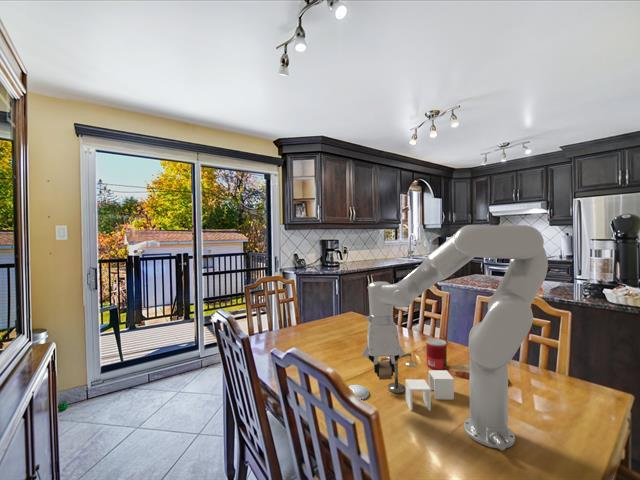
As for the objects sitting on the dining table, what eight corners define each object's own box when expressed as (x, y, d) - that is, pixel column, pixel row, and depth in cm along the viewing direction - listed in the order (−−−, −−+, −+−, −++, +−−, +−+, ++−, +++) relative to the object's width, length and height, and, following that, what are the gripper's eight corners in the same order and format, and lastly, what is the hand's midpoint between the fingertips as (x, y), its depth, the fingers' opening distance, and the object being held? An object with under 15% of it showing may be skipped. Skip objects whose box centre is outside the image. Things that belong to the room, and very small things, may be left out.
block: (391, 379, 97) (391, 368, 96) (379, 379, 97) (379, 368, 97) (389, 371, 101) (389, 360, 100) (377, 372, 101) (377, 361, 100)
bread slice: (443, 371, 124) (442, 362, 124) (476, 364, 130) (476, 356, 130) (478, 393, 107) (478, 382, 107) (515, 384, 113) (515, 374, 113)
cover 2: (434, 399, 103) (434, 378, 103) (428, 389, 110) (428, 370, 109) (454, 399, 103) (453, 379, 103) (446, 389, 109) (446, 370, 109)
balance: (419, 393, 107) (419, 356, 106) (376, 393, 107) (376, 356, 107) (415, 385, 113) (414, 350, 112) (374, 385, 113) (374, 350, 113)
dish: (370, 400, 103) (370, 397, 103) (344, 400, 103) (344, 396, 103) (367, 387, 112) (367, 383, 112) (343, 386, 112) (343, 383, 112)
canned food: (448, 371, 123) (448, 345, 123) (428, 370, 125) (427, 344, 125) (444, 363, 131) (444, 338, 131) (425, 362, 132) (425, 337, 132)
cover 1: (430, 411, 96) (430, 389, 96) (410, 410, 97) (410, 389, 96) (424, 399, 103) (424, 379, 103) (405, 399, 103) (405, 379, 103)
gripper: (357, 323, 95) (360, 381, 95) (409, 321, 94) (413, 379, 94) (355, 317, 103) (358, 370, 103) (404, 315, 102) (407, 368, 102)
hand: (384, 374), depth 99 cm, fingers closed on block, 3 cm apart
